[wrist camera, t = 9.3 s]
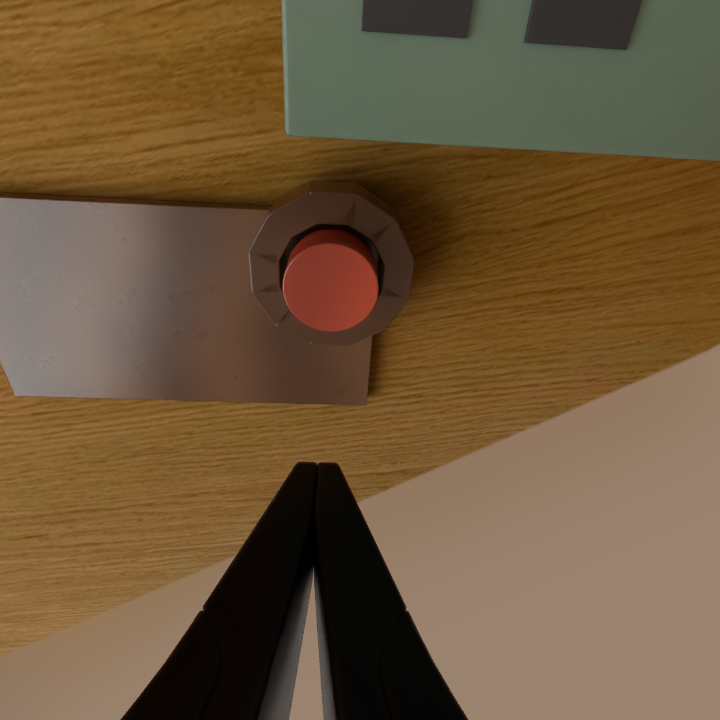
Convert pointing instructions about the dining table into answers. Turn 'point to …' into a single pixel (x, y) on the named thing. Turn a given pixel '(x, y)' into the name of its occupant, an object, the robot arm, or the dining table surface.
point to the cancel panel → (185, 297)
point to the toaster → (507, 74)
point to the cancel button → (330, 280)
